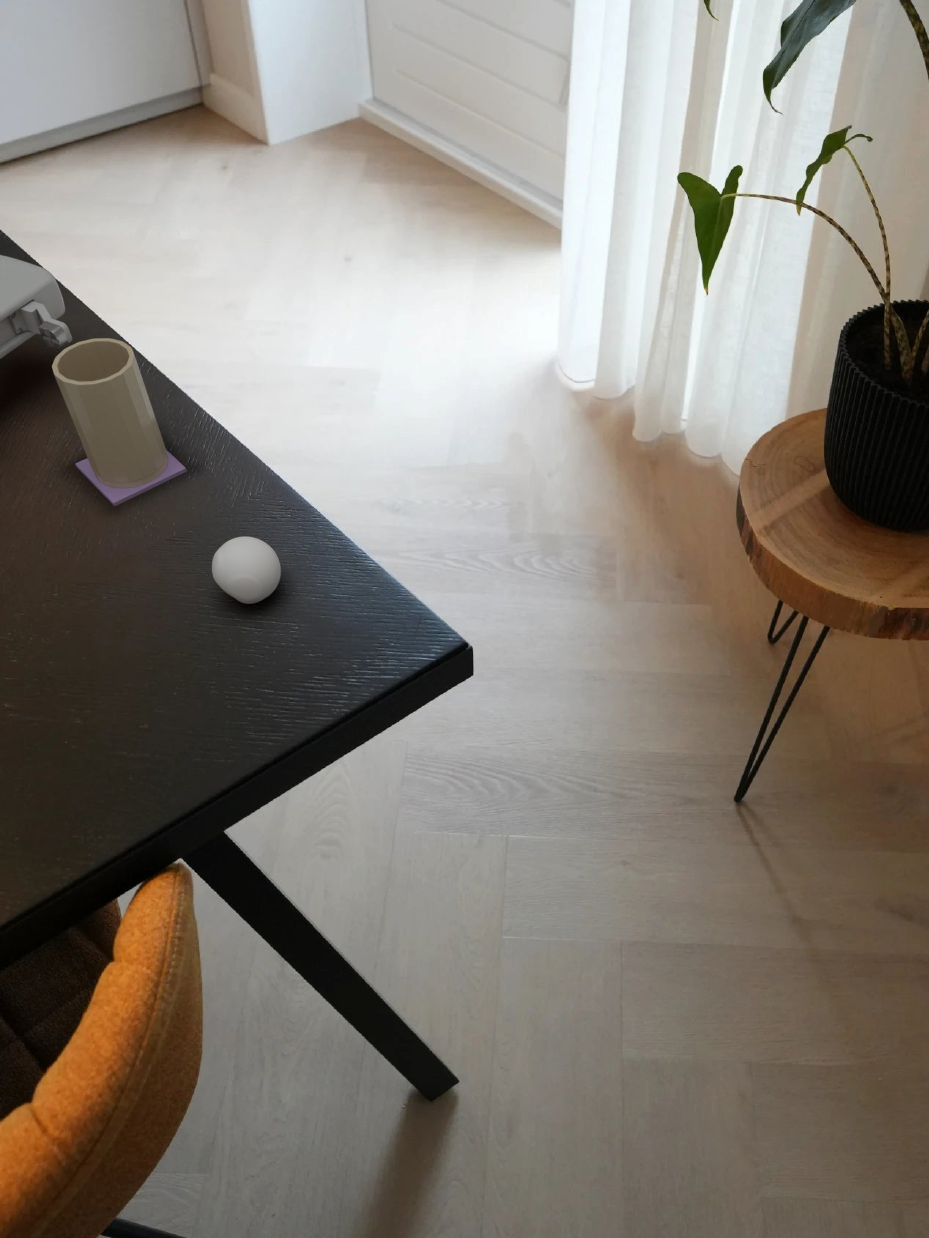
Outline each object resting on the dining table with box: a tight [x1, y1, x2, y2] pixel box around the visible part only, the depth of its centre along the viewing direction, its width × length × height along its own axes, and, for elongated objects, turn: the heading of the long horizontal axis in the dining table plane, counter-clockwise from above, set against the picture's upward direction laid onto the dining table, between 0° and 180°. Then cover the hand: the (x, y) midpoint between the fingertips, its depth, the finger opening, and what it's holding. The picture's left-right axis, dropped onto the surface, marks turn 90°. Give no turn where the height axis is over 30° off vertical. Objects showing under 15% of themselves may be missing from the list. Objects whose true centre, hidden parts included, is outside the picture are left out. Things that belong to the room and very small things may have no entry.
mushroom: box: [211, 536, 282, 605], centre depth 83 cm, size 5×5×5 cm
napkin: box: [75, 449, 188, 507], centre depth 94 cm, size 7×7×1 cm
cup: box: [51, 337, 168, 488], centre depth 90 cm, size 6×6×10 cm
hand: (23, 367), depth 91 cm, fingers open, 8 cm apart
